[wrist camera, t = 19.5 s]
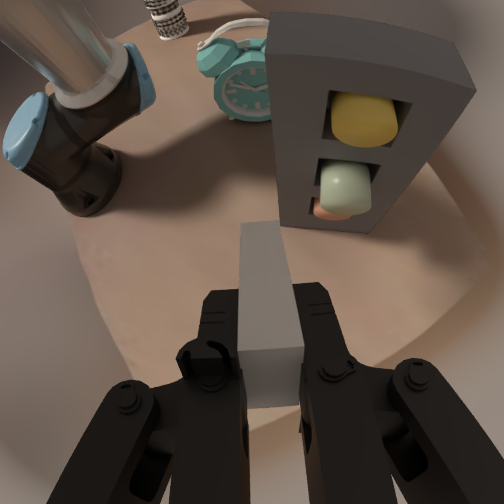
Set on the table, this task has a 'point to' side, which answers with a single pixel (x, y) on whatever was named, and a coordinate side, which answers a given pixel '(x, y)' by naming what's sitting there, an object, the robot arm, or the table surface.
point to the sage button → (345, 187)
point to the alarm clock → (237, 72)
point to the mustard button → (362, 119)
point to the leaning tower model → (168, 18)
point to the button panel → (361, 82)
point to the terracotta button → (324, 214)
